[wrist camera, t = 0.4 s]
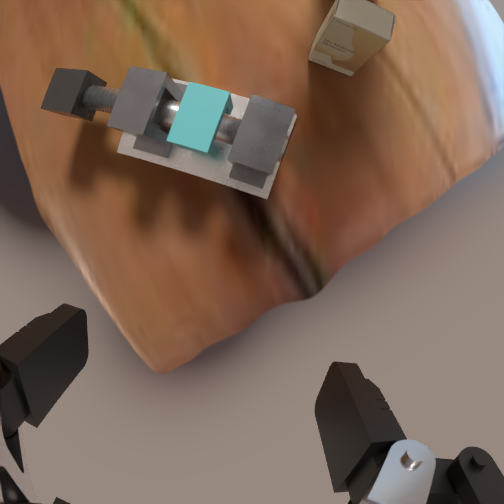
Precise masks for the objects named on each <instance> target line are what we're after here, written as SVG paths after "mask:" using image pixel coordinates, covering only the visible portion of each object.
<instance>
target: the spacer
mask: <svg viewBox="0 0 504 504" xmlns="http://www.w3.org/2000/svg"><path fill="white" fill-rule="evenodd" d="M232 109H233V103H232V98H231V94H230V92H227V91H224V90H220V89H217V88H213V87H209V86H205V85H201V84H197V83H193V82H189V84H188V86H187V88H186V91H185V93H184V96H183V98H182V101H181V103H180V106H179V108H178V111H177V113H176V116H175V118H174V121H173V124H172V127H171V129H170V132H169V135H168V138H167V140H166V141H168V142H170V143H172V144H174V145H176V146H178V147H180V148H183V149H187V150H190V151H193V152H197V153H200V154H203V155H206V156H210V157H213V158H215V155H216V152H217V150H218V149H217V148H216V147H215V146H214V145H213V143H214V140H215V138H216V135H217V132H218V130H219V127H220V124H221V122H222V119H223V116H224V114H227V115H231V112H232Z"/></svg>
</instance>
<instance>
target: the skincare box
mask: <svg viewBox="0 0 504 504" xmlns="http://www.w3.org/2000/svg"><path fill="white" fill-rule="evenodd" d="M394 23H395V14H393V13H391V12H389V11H387V10H385V9H383V8H381V7H379V6H377V5H375V4H373V3H372V2H369V1H367V0H335V2H334V4H333V6H332V7H331V9H330V11H329V13H328V15H327V16H326V18H325V20H324V22H323V24H322V25H321V27H320V29H319V31H318V33H317V35H316V37H315V39H314V42H313V44H312V47H311V51H310V54H309V58H308V59H309V60H310V61H313V62H315V63H318V64H320V65H323V66H325V67H328V68H330V69H333V70H336V71H338V72H341V73H343V74H346V75H349V76H352V75H353V74H354V73H355V72H356V71H357V70H358V69H359V68H360V67H361V66H363V65H364V64H365V63H366V62H367V61H368V60H369V59H370V58H371V57H372V56H374V55H375V54H376V53H377V52H378V51H379V50H380V49H381V48H383V47H384V46H385V45H386V44H387V43H388V42H389V41H390V40H391V36H392V32H393V28H394Z"/></svg>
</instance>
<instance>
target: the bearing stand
mask: <svg viewBox="0 0 504 504" xmlns="http://www.w3.org/2000/svg"><path fill="white" fill-rule="evenodd" d="M188 84H189V82H185V81H180V80H176V79H172V78H171V77H170V75H169V74H168V73H166V72H161V71H156V70H150V69H144V68H138V67H131V66H130V68H129V71H128V73H127V75H126V77H125V80H124V82H123V84H122V87H121V89H120V92H119V94H118V97H117V99H116V102H115V104H114V107H113V110H112V112H111V115H110V118H109V121H108V123H107V126H108V127H111V128H114V129H116V130H119V131H122V132H123V135H122V138H121V141H120V144H119V147H118V150H117V153H121V154H125V155H128V156H132V157H135V158H139V159H142V160H146V161H149V162H153V163H156V164H159V165H163V166H166V167H170V168H173V169H176V170H179V171H183V172H186V173H189V174H192V175H195V176H199V177H202V178H205V179H208V180H211V181H214V182H217V183H220V184H223V185H226V186H229V187H232V188H235V189H238V190H241V191H244V192H247V193H250V194H253V195H256V196H259V197H261V198H264V199H267V198H268V195H269V193H270V190H271V187H272V184H273V181H274V179H275V176H276V173H277V170H278V167H279V165H280V162H281V161H280V162H279V161H277V160H278V158H279V155H280V152H281V149H282V146H283V144H284V141H285V138H286V135H289V137H290V134H291V131H292V128H293V126H294V123H295V120H296V117H297V115H295V114H294V113H295V110H296V109H294V108H291V107H288V106H286V105H283V104H280V103H277V102H274V101H271V100H268V99H265V98H262V97H259V96H256V95H253V94H252V95H251V97H250V99H248V98H245V97H242V96H238V95H235V94H231V93H230V94H231V98H232V103H233V109H232V112H231V115H229V116H233V117H236V118H239V119H242V121H241V123H240V126H239V129H238V131H237V134H236V137H235V140H234V142H233V145H229V144H226V143H223V142H220V141H216V140H214V143H213V145H214V146H215V147H216V148H217V149H218V150H217V152H216V155H215V158H213V157H210V156H206V155H203V154H200V153H197V152H193V151H190V150H187V149H183V148H180V147H178V146H176V145H174V144H172V143H170V142H168V141H166V140H167V138H168V135H169V132H170V129H171V127H167V126H163V125H159V124H155V123H151V122H152V120H153V117H154V114H155V112H156V109H157V107H158V104H159V101H160V99H161V98H165V99H170V100H174V101H178V102H181V101H182V98H183V96H184V93H185V91H186V88H187V86H188ZM226 115H227V114H226Z"/></svg>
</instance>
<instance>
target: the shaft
mask: <svg viewBox="0 0 504 504" xmlns="http://www.w3.org/2000/svg"><path fill="white" fill-rule="evenodd" d="M106 84H107V83H106V82H105V81H103V80H102V79H100V78H99V77H97V76H95V75H94V74H92V73H91V72H89V71H88V70H77V69H63V68H56V70H55V72H54V75H53V77H52V79H51V82H50V84H49V87H48V89H47V92H46V95H45V97H44V100H43V103H42V106H41V109H44V110H47V111H51V112H54V113H57V114H61V115H64V116H70V117H75V118H80V119H85V120H90V121H92V120H93V117H94V115H95V112H96V110H97V111H102V112H107V113H111V112H112V110H113V107H114V104H115V102H116V99H117V97H118V94H119V92H120V89H114V88H108V87H105V86H106ZM180 103H181V102H178V101H174V100H170V99H165V98H161V99H160V101H159V104H158V107H157V109H156V112H155V114H154V117H153V120H152V122H151V123H155V124H159V125H163V126H167V127H172V124H173V121H174V118H175V116H176V113H177V111H178V108H179V106H180ZM241 121H242V119H239V118H236V117H233V116H229V115H226V114H224V116H223V119H222V122H221V124H220V127H219V130H218V132H217V135H216V138H215V140H216V141H220V142H223V143H226V144H229V145H233V142H234V140H235V137H236V134H237V131H238V129H239V126H240V123H241ZM288 140H289V135H286V138H285V141H284V144H283V146H282V149H281V152H280V155H279V158H278V160H277V161H279V162H280V161H281V159H282V157H283V154H284V152H285V149H286V146H287V143H288Z"/></svg>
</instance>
